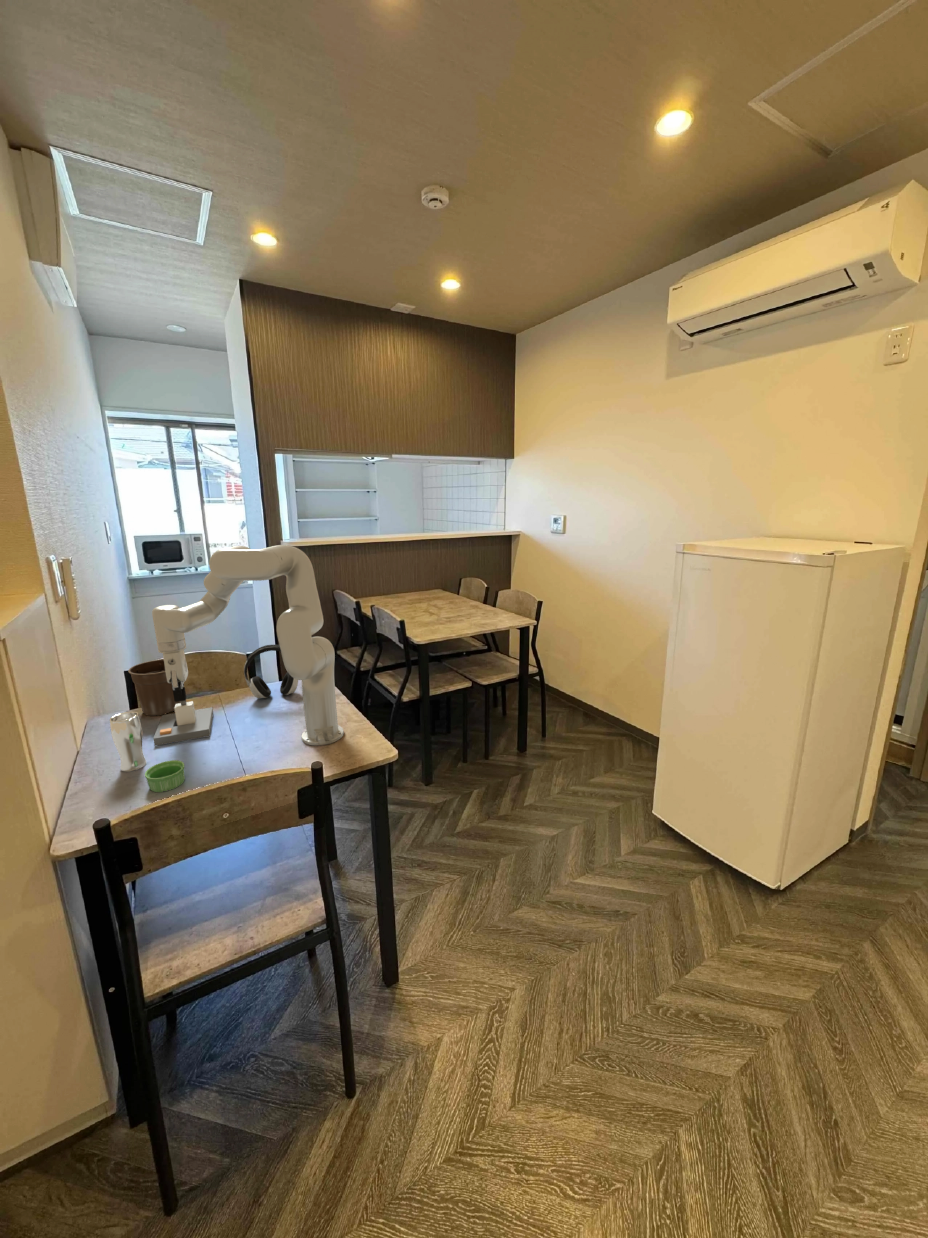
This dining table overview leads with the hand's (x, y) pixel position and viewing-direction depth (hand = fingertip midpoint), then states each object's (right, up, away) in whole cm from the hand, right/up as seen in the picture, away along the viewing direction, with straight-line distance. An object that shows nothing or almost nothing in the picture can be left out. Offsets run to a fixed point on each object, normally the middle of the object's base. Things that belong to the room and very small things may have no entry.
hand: (180, 700), depth 159 cm
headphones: (+20, -3, +27) cm, 34 cm away
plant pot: (-16, -6, +18) cm, 25 cm away
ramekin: (+13, -18, -28) cm, 36 cm away
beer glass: (-2, -15, -20) cm, 25 cm away
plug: (+1, -9, +3) cm, 10 cm away
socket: (0, -10, +2) cm, 10 cm away
